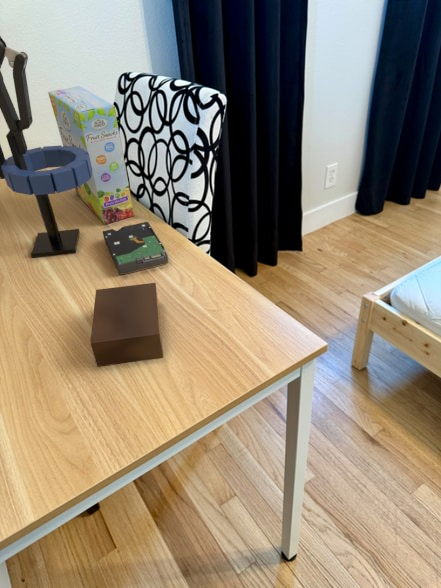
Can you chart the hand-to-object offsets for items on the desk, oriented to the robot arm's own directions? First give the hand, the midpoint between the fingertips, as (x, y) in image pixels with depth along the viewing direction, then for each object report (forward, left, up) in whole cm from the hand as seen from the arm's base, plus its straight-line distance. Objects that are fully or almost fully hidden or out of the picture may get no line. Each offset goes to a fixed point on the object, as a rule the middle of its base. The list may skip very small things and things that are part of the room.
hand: (14, 174), depth 68 cm
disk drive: (+16, +8, -22) cm, 29 cm away
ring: (+5, 0, -1) cm, 5 cm away
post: (-1, +15, -22) cm, 27 cm away
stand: (+15, -17, -22) cm, 31 cm away
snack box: (+8, +33, -22) cm, 41 cm away
